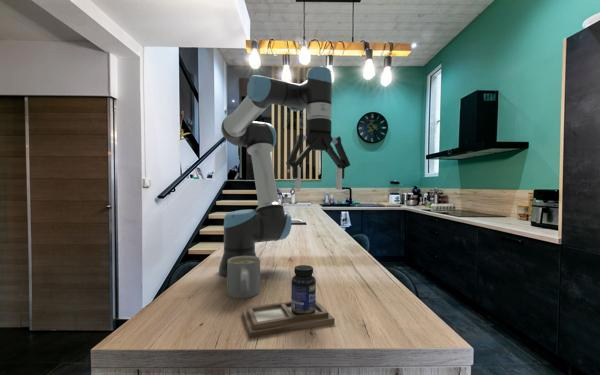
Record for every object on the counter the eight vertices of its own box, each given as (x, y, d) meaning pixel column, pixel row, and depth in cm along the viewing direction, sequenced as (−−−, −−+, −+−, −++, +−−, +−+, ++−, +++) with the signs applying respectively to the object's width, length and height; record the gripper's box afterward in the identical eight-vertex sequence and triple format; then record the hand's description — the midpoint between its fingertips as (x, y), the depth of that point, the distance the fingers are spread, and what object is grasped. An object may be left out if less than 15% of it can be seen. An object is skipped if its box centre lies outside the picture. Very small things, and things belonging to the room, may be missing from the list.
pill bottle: (313, 318, 67) (313, 271, 67) (288, 315, 68) (288, 270, 68) (317, 307, 73) (317, 264, 73) (294, 305, 74) (294, 263, 74)
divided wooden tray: (242, 314, 72) (242, 305, 72) (315, 303, 78) (315, 295, 78) (250, 338, 61) (250, 327, 61) (334, 323, 67) (334, 314, 67)
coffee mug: (231, 286, 92) (231, 255, 92) (262, 286, 92) (262, 255, 92) (220, 302, 79) (220, 267, 79) (255, 303, 79) (255, 267, 79)
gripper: (283, 113, 79) (283, 189, 79) (361, 120, 87) (361, 189, 87) (276, 119, 86) (276, 189, 86) (349, 125, 94) (348, 189, 94)
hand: (318, 189), depth 86 cm, fingers open, 13 cm apart
